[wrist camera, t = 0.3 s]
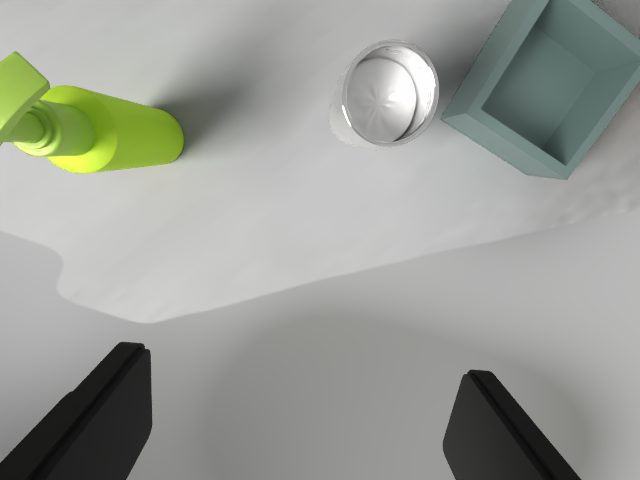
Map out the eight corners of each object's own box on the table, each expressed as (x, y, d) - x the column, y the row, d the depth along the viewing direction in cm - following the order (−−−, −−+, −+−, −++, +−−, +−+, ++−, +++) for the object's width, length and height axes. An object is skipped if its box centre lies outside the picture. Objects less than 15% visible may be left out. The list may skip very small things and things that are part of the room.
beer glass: (313, 132, 35) (320, 121, 21) (341, 70, 34) (368, 13, 19) (368, 160, 37) (409, 167, 22) (397, 101, 35) (462, 68, 21)
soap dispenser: (201, 132, 35) (76, 112, 16) (160, 175, 36) (-4, 206, 17) (159, 89, 33) (-35, 9, 14) (117, 135, 35) (-115, 119, 15)
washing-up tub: (510, 2, 33) (554, -29, 27) (600, 70, 35) (658, 55, 29) (439, 119, 36) (465, 113, 30) (527, 175, 38) (567, 179, 32)
